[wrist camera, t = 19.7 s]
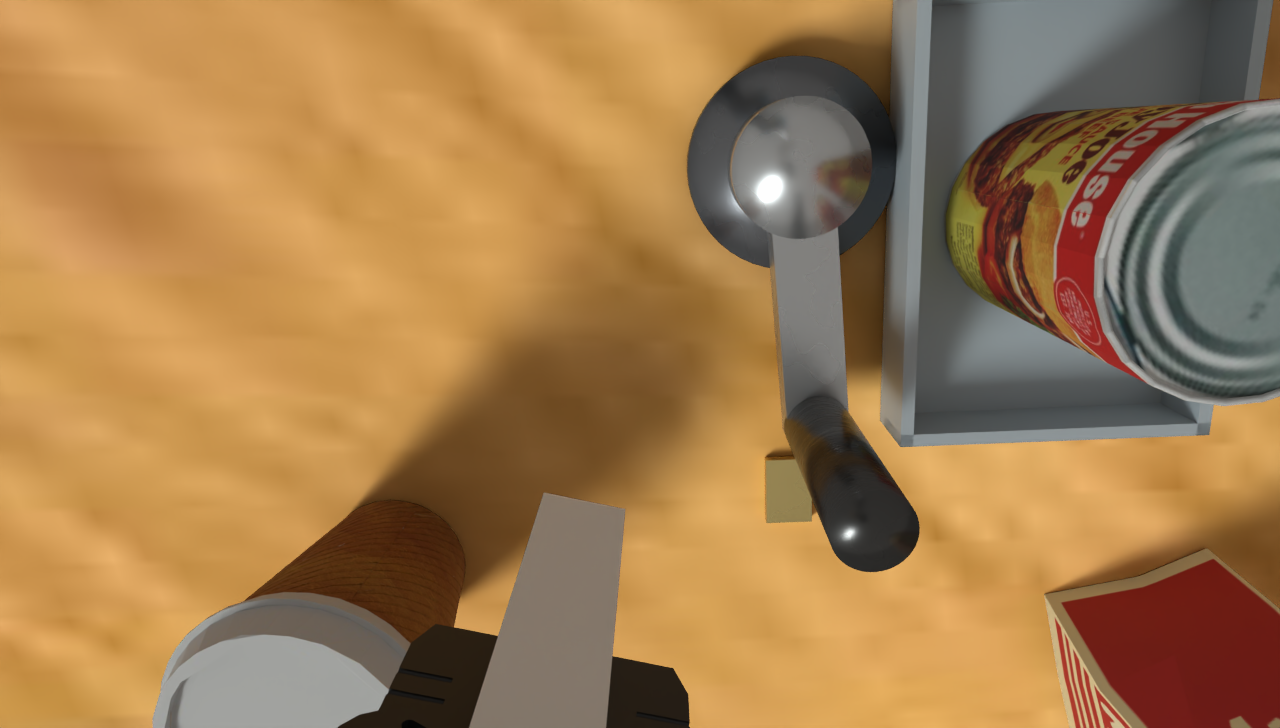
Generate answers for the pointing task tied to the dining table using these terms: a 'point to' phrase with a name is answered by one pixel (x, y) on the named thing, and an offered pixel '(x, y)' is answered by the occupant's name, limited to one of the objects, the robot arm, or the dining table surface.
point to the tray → (949, 133)
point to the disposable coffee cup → (320, 628)
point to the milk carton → (1168, 650)
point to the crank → (819, 315)
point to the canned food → (1135, 239)
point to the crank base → (747, 98)
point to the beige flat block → (786, 491)
